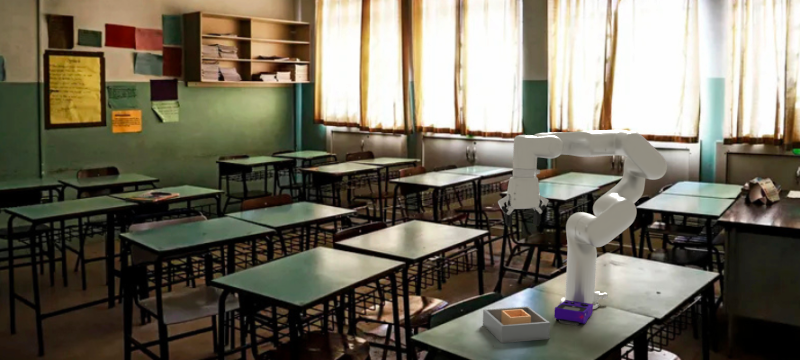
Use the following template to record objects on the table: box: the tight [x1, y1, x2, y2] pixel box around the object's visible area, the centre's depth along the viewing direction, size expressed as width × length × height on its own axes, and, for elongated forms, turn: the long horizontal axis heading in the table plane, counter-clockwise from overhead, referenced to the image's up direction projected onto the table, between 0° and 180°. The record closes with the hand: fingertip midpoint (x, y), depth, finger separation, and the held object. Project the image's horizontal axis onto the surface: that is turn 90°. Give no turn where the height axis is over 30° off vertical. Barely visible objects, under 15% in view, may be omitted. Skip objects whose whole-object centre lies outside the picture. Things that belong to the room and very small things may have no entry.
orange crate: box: [501, 309, 531, 325], centre depth 203 cm, size 7×7×5 cm
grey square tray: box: [482, 305, 551, 344], centre depth 203 cm, size 15×15×5 cm
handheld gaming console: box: [553, 300, 594, 326], centre depth 217 cm, size 9×5×15 cm
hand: (522, 225), depth 221 cm, fingers open, 9 cm apart
